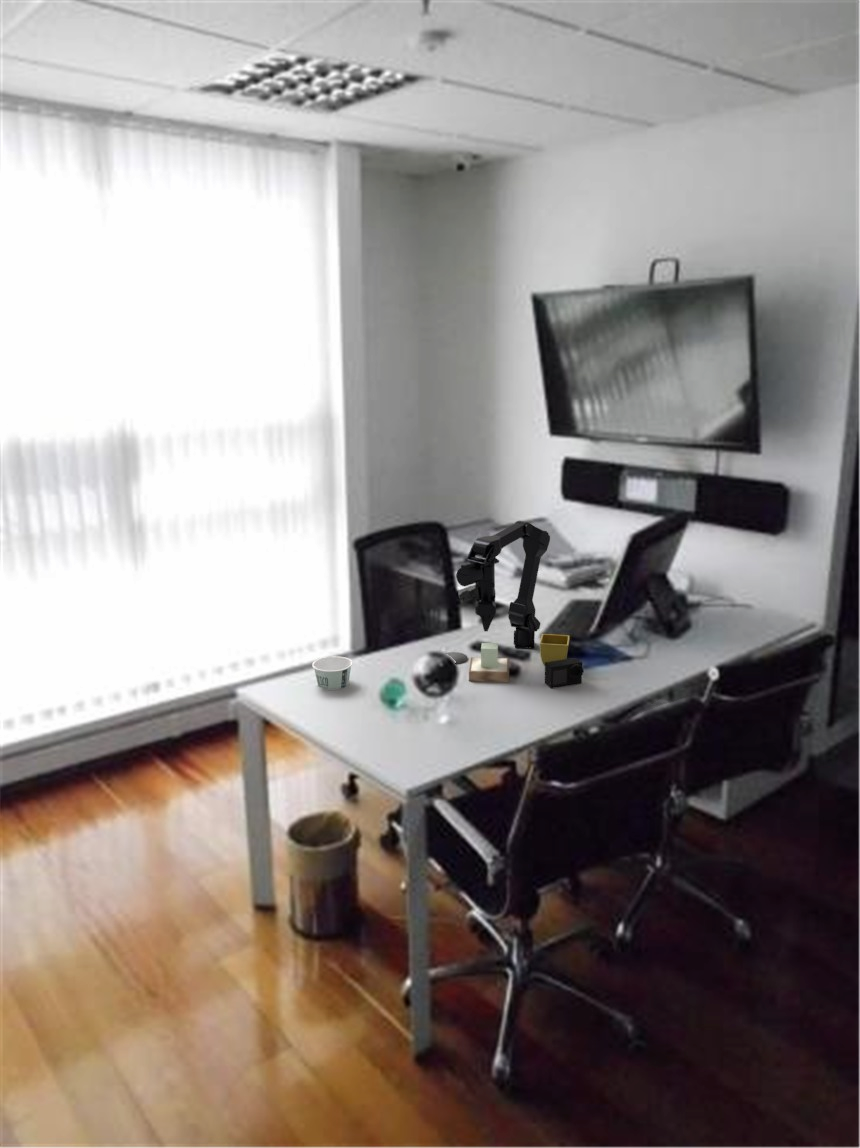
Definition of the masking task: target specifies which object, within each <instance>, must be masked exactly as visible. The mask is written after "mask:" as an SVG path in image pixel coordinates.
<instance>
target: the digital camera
mask: <svg viewBox="0 0 860 1148" xmlns="http://www.w3.org/2000/svg"><path fill="white" fill-rule="evenodd" d="M584 673H585V672H584V668H583V661H581V660H580V659H579V658H577V657H573V658H566V659H564V660H557V661H550V662H545V666H544V685H546V686H547V687H548V688H550V689H556V688H564V687H569V686H577V685H582V684H583V681H582V680H583V675H584Z"/></svg>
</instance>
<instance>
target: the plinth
mask: <svg viewBox="0 0 860 1148" xmlns="http://www.w3.org/2000/svg"><path fill="white" fill-rule="evenodd" d="M468 681H469V682H492V683H509V682H510V658H508V657H498V666H497V668H492V667H481V657H472V656H471V657H470V661H469V669H468Z"/></svg>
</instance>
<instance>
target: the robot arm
mask: <svg viewBox="0 0 860 1148" xmlns="http://www.w3.org/2000/svg"><path fill="white" fill-rule="evenodd" d="M519 539H522V548H523V551H524V553H525V558H524V562H523V567H522V573H521V578H520V583H519V587H518V593H517V598H516V599H515V600H514V601H511V602H510V603H509V608H508V611H507V614H508V620H509V623H510V627H512V628H515V629H514V630H513V645H514V648H515V649H535V648H536V646H535V645H536V644H535V634H536V633H535V632H538V630H540V628H541V622H540V620H539V619H538V618H537V617H536V607H535V604H534V601H533V600H534V599H533V598H534V593H535V589H536V585H537V584H536V583H537V579H538V574H539V568H540V565H541V564H540V563H541V560H542V559H541V558H542V557H543V555H544V554H545V553H546V552H547V550H548V548H549V545H550V543H551V542H550V541H551V535H550V534H549V532H548V531H546V530H543V529H540V528H538V527H536V526H535V525H533V524H532V523H530V522H528V521H524V520H523V521H522V520H517V521H515V522H514V523H513V524H512V525H510V526H508V527H506V528H504V529H503V530H501V531H498V532H497V533H496V534H493V535H487V536H483V537H478V538H476V539H475V540H474V541H473V543H472V546H471V548H470V550H469V553H468V555H467V557H466V559H465V560H466V561H465V562H463V563H461V564H460V568H458V570H456V573H455V577H456V581H457V582H458V584H459V585H460V586H462V587H464V588H461V589H459V590H458V597H459V600H460V603H462V604H465V603H467V602H469V601H472V600H474V599H475V601H476V603H475V605H474V606H475V614H476V615H477V616H479V617H480V620H481V624H482V629H483V632H488V631H489V629H490V626H491V625H492V622H493V619H494V618H495V615H496V613H497V608H496V607H497V605H496V588H495V585H496V581H495V579H496V578H495V577H496V576H495V575H496V574H495V572H496V571H495V565H496V564H498V563H499V562H500V560H499V559H498V558H497V556H499V555H500V554H501V553H502V549H504V548H505V547H507V546H509V545H511V543H514V542H516V541H517V540H519ZM466 562H467V563H466ZM473 584H474V585H473Z"/></svg>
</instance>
